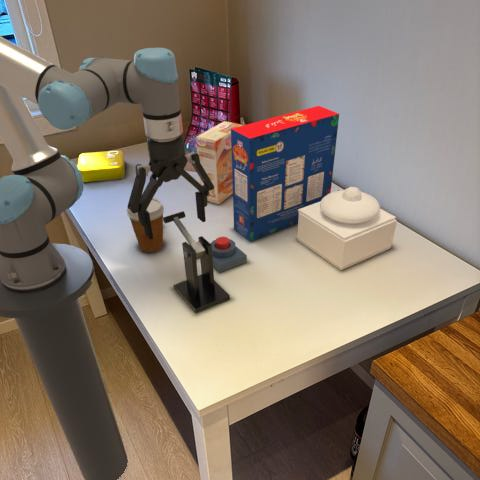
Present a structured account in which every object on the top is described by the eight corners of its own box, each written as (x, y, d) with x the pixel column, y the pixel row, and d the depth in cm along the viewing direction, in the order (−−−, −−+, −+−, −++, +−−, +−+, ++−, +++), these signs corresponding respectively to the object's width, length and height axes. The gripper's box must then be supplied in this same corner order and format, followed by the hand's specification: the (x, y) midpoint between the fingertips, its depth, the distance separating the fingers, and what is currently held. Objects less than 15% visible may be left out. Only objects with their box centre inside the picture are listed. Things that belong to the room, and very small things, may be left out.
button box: (200, 254, 127) (199, 241, 124) (226, 244, 130) (225, 231, 127) (219, 272, 120) (219, 259, 118) (246, 262, 123) (246, 249, 121)
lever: (162, 222, 111) (163, 214, 109) (182, 215, 113) (182, 208, 111) (190, 262, 106) (190, 255, 104) (210, 255, 108) (211, 248, 106)
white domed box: (341, 270, 120) (349, 212, 109) (295, 239, 131) (299, 184, 121) (391, 248, 127) (403, 191, 117) (344, 220, 138) (351, 166, 128)
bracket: (173, 288, 116) (166, 238, 107) (206, 276, 119) (202, 227, 110) (195, 313, 109) (190, 262, 100) (230, 299, 112) (227, 248, 103)
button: (213, 245, 123) (212, 239, 122) (225, 241, 125) (224, 235, 123) (220, 251, 121) (219, 245, 120) (232, 247, 122) (232, 241, 121)
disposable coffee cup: (176, 243, 131) (171, 202, 123) (152, 259, 125) (145, 218, 117) (150, 233, 135) (143, 193, 127) (126, 249, 129) (117, 208, 122)
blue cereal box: (310, 201, 147) (318, 105, 129) (328, 211, 142) (339, 113, 124) (234, 229, 136) (230, 128, 117) (250, 241, 131) (249, 138, 112)
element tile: (81, 165, 171) (78, 151, 168) (124, 161, 173) (122, 147, 170) (79, 183, 160) (75, 169, 157) (125, 179, 162) (122, 165, 159)
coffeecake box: (219, 204, 147) (215, 140, 134) (199, 199, 150) (194, 136, 137) (244, 185, 157) (243, 124, 144) (226, 180, 159) (223, 120, 147)
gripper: (113, 156, 91) (132, 251, 105) (226, 128, 101) (230, 219, 115) (99, 143, 96) (119, 236, 110) (208, 118, 105) (214, 206, 119)
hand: (176, 228), depth 112 cm, fingers open, 13 cm apart
